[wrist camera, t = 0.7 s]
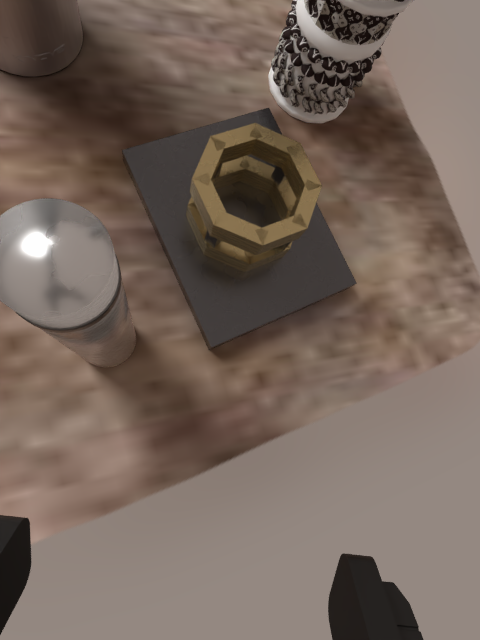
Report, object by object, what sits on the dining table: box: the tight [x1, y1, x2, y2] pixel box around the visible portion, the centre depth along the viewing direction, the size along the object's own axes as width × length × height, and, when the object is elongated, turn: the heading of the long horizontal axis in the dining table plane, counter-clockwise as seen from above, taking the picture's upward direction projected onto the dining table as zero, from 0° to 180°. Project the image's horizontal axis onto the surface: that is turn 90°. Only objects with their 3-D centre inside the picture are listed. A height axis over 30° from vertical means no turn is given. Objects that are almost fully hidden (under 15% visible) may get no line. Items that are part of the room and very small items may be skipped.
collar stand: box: [122, 108, 356, 350], centre depth 34 cm, size 18×14×8 cm
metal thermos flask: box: [0, 199, 136, 367], centre depth 24 cm, size 4×4×19 cm
